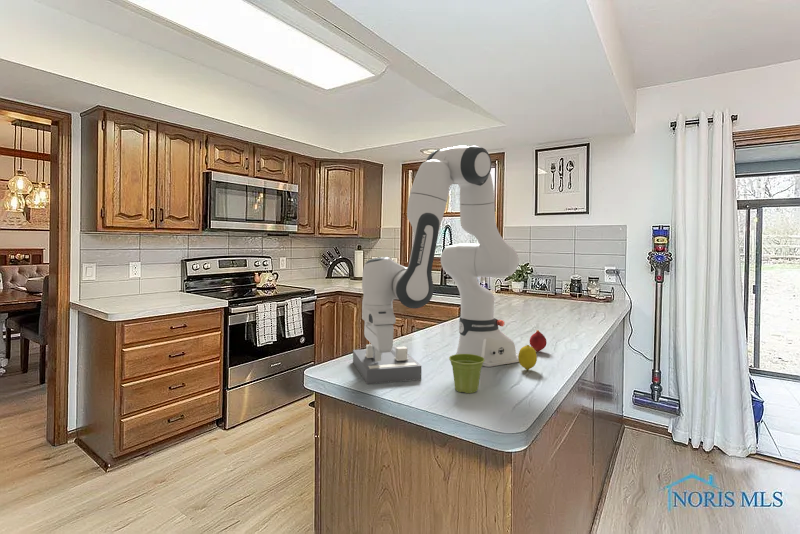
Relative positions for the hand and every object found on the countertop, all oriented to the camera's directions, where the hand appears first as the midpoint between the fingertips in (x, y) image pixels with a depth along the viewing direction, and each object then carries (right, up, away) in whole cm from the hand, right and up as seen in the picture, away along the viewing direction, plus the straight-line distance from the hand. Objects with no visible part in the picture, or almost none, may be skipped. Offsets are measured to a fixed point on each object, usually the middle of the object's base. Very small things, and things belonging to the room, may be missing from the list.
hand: (377, 360), depth 125 cm
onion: (+57, -4, +31) cm, 64 cm away
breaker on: (+7, -1, +4) cm, 8 cm away
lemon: (+46, -5, +9) cm, 48 cm away
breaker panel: (+2, -5, +7) cm, 9 cm away
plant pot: (+25, -6, -9) cm, 27 cm away
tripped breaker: (-2, 0, +7) cm, 7 cm away
